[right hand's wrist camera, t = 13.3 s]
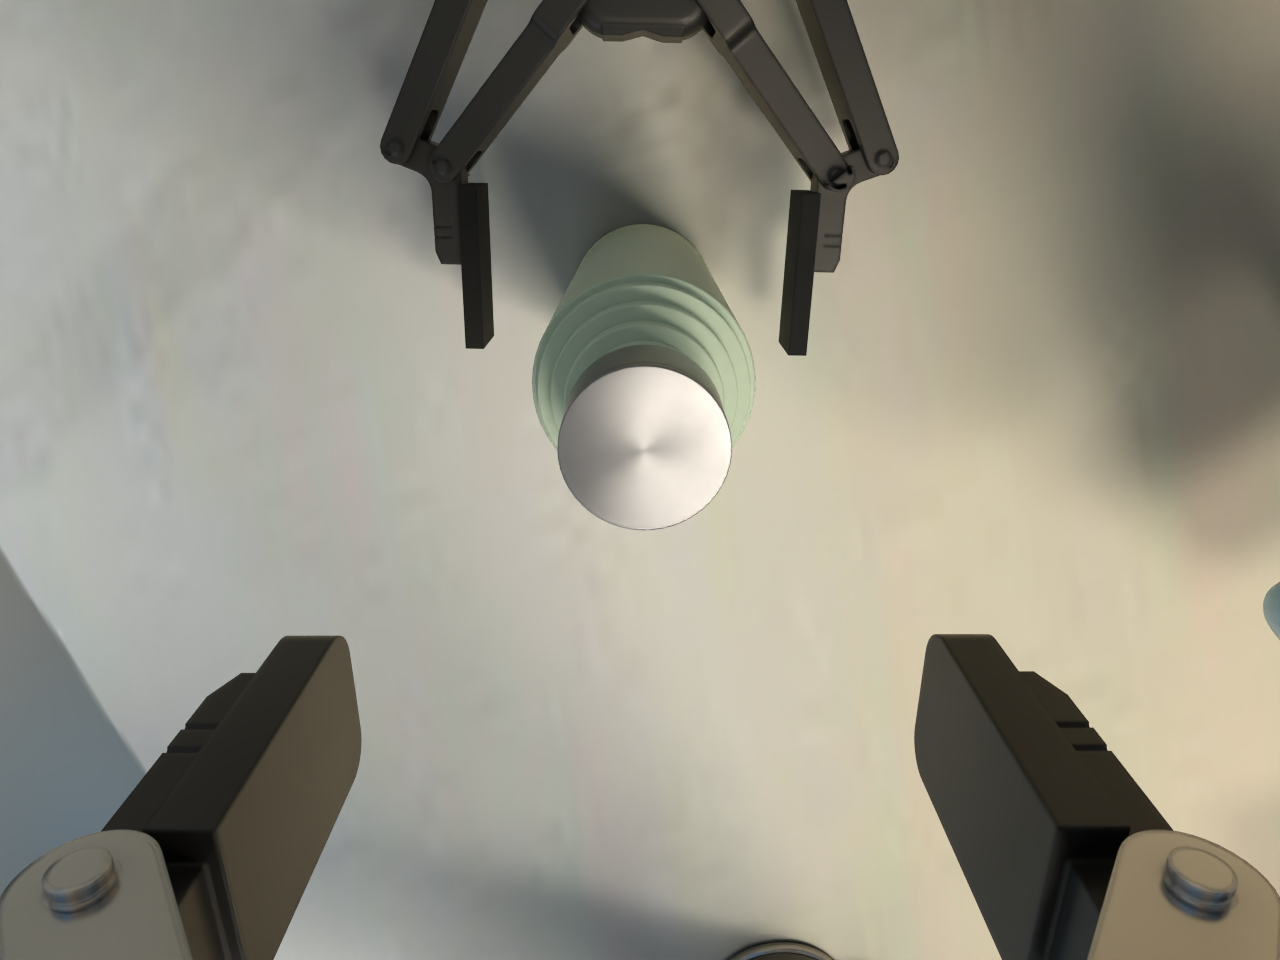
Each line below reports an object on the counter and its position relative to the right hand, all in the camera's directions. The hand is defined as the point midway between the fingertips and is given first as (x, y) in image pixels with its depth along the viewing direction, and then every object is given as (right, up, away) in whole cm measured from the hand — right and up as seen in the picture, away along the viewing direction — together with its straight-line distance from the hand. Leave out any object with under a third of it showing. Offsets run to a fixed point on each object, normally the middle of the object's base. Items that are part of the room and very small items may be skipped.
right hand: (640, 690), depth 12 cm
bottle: (0, +12, +31) cm, 34 cm away
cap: (0, +4, +9) cm, 10 cm away
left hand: (0, +9, +26) cm, 27 cm away
